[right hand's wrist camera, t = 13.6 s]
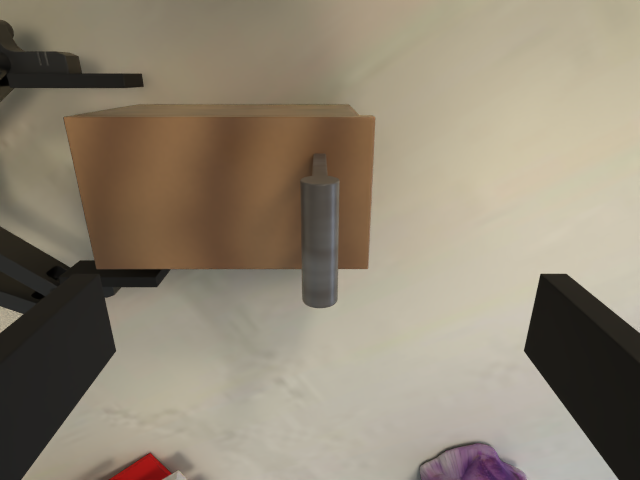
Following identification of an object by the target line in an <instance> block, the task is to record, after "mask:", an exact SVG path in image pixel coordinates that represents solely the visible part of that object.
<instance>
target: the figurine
mask: <svg viewBox="0 0 640 480" xmlns="http://www.w3.org/2000/svg"><path fill="white" fill-rule="evenodd" d="M420 475H421V478H422V479H421V480H527V476H526V475H525V473H524V472H522V471H521V470H519V469H518V468H516V467H514V466H512V465H509V464H507V463H505V462H502V461H501V460H500V459H499V457H498V455H497V453H496V451H495V450H494V449H493V448H492V447H491V446H489V445H485V444H481V443H476V444H472V445H467V446H462V447H457V448H453V449H450V450H446V451H445V452H444V453H442V454H441V455H439V456H438V457H437V458H435V459H433V460H430V461H429V462H426V463H425V464H423V465H421V467H420Z"/></svg>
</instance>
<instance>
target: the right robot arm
mask: <svg viewBox="0 0 640 480" xmlns="http://www.w3.org/2000/svg"><path fill="white" fill-rule="evenodd" d="M115 352H116V348H115V344H114V339H113V335H112V330H111V325H110V321H109V316H108V311H107V307H106V302H105V298H104V293H103V288H102V284H101V279H100V274H73V275H72V276H70V277H69V278H68V279H67V280H65V281H64V282H63V283H62V284H61V285H59V286H58V287H57V288H56V289H54V290H53V291H52V292H51V293H49V294H48V295H47V296H46V297H44V298H43V299H42V300H41V301H39V302H38V303H37V304H36V305H35V306H33V307H32V308H31V309H30V310H28V311H27V312H26V313H25V314H23V315H22V316H21V317H20V318H18V319H17V320H16V321H15V322H14V323H12V324H11V325H10V326H9V327H7V328H6V329H5V330H4V331H2V332H1V333H0V480H21V479H22V478H23V476H24V475H25V474H26V472H27V471H28V470H29V468H30V467H31V466H32V464H33V463H34V462H35V460H36V459H37V457H38V456H39V455H40V453H41V452H42V451H43V449H44V448H45V447H46V445H47V444H48V443H49V441H50V440H51V438H52V437H53V436H54V434H55V433H56V432H57V430H58V429H59V428H60V426H61V425H62V424H63V422H64V421H65V420H66V418H67V417H68V415H69V414H70V413H71V411H72V410H73V409H74V407H75V406H76V405H77V403H78V402H79V401H80V399H81V398H82V396H83V395H84V394H85V392H86V391H87V390H88V388H89V387H90V386H91V384H92V383H93V382H94V380H95V379H96V377H97V376H98V375H99V373H100V372H101V371H102V369H103V368H104V367H105V365H106V364H107V363H108V361H109V360H110V358H111V357H112V356H113V354H114V353H115ZM524 352H525V353H526V354H527V356H528V357H529V358H530V360H531V361H532V363H533V364H534V365H535V367H536V368H537V369H538V371H539V372H540V373H541V375H542V376H543V377H544V379H545V380H546V382H547V383H548V384H549V386H550V387H551V388H552V390H553V391H554V392H555V394H556V395H557V396H558V398H559V399H560V401H561V402H562V403H563V405H564V406H565V407H566V409H567V410H568V411H569V413H570V414H571V415H572V417H573V418H574V420H575V421H576V422H577V424H578V425H579V426H580V428H581V429H582V430H583V432H584V433H585V434H586V436H587V437H588V438H589V440H590V441H591V443H592V444H593V445H594V447H595V448H596V449H597V451H598V452H599V453H600V455H601V456H602V457H603V459H604V460H605V462H606V463H607V464H608V466H609V467H610V468H611V470H612V471H613V472H614V474H615V475H616V476H617V478H618V479H619V480H640V333H639V332H638V331H636V330H635V329H634V328H633V327H631V326H630V325H629V324H628V323H626V322H625V321H624V320H623V319H622V318H620V317H619V316H618V315H617V314H615V313H614V312H613V311H612V310H610V309H609V308H608V307H607V306H605V305H604V304H603V303H602V302H601V301H599V300H598V299H597V298H596V297H594V296H593V295H592V294H591V293H589V292H588V291H587V290H586V289H584V288H583V287H582V286H581V285H579V284H578V283H577V282H576V281H575V280H573V279H572V278H571V277H570V276H568V275H567V274H540V279H539V284H538V288H537V293H536V298H535V302H534V307H533V311H532V316H531V321H530V325H529V330H528V335H527V339H526V344H525V348H524Z"/></svg>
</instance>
